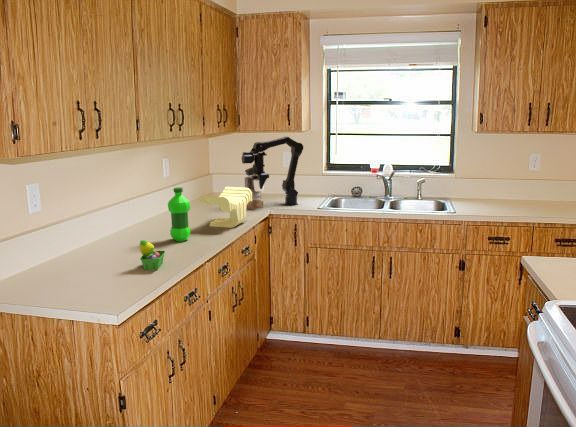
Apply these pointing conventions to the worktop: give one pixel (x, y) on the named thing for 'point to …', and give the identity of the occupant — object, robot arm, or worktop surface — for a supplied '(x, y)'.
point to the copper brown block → (255, 204)
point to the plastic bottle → (179, 216)
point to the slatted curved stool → (230, 205)
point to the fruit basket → (150, 256)
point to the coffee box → (252, 188)
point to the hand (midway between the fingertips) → (259, 188)
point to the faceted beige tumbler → (257, 185)
